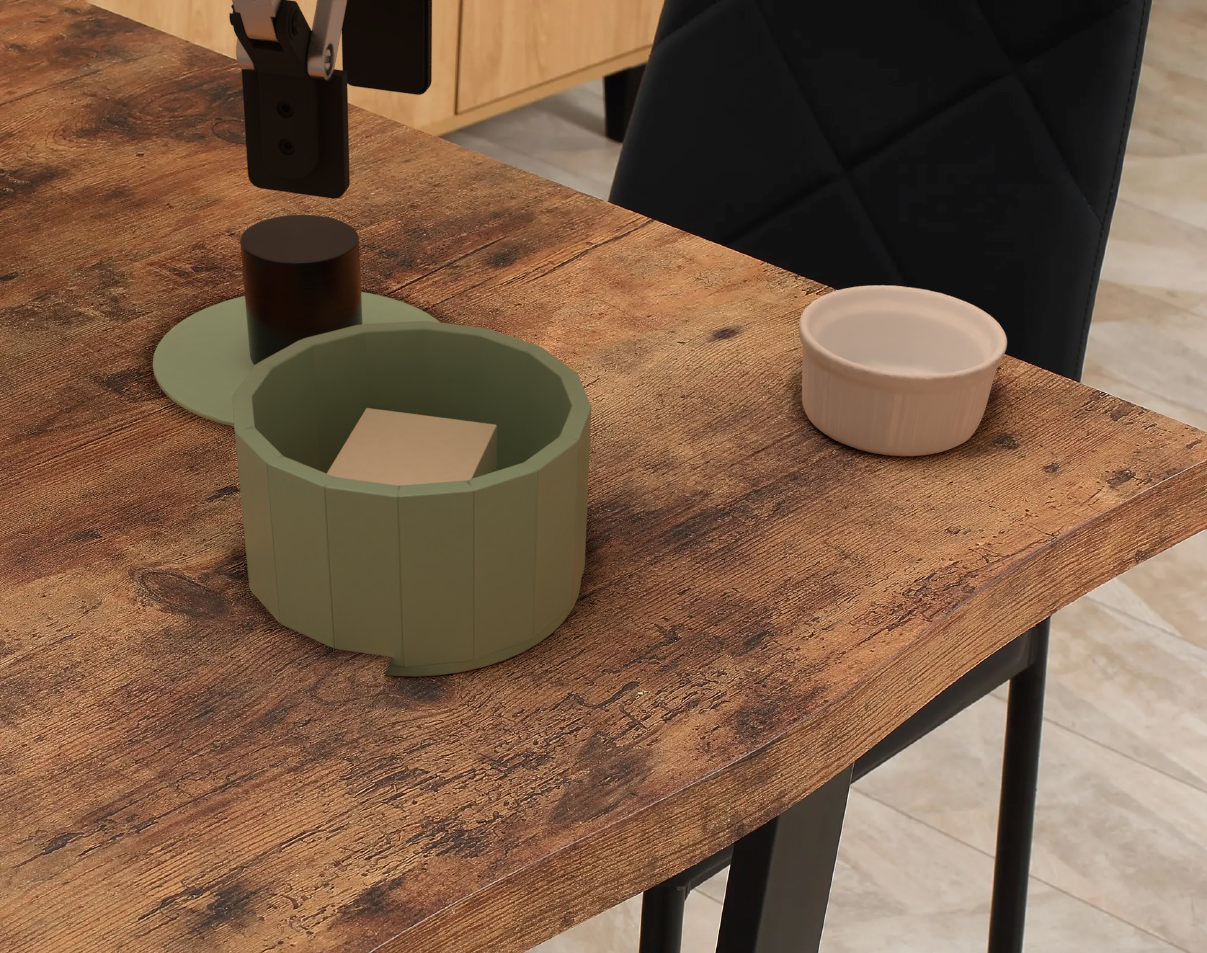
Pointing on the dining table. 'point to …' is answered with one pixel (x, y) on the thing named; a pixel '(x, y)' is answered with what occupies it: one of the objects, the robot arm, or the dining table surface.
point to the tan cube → (416, 449)
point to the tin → (415, 496)
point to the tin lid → (271, 311)
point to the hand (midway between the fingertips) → (346, 135)
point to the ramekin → (897, 368)
